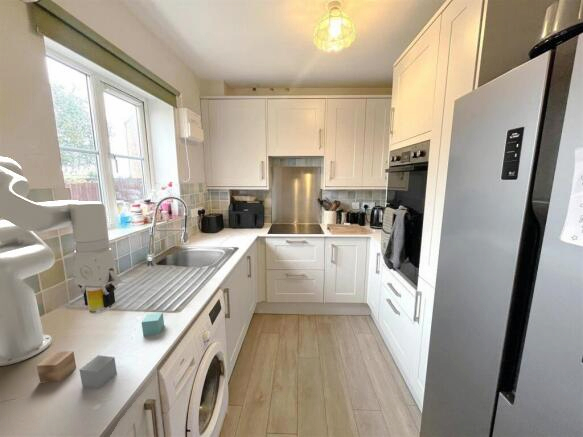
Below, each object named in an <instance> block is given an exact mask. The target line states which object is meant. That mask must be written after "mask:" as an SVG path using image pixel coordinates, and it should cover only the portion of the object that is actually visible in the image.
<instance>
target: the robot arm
mask: <svg viewBox="0 0 583 437" xmlns="http://www.w3.org/2000/svg"><path fill="white" fill-rule="evenodd" d="M23 175H24V172H23V168H22V166H20V164H18V162H16V161H15V160H13V159H11V158H9V157H6V156H5V157H4V156H1V155H0V217H1V218H2V219H0V367H3V366H9V365H13V364H16V363H20V362H22V361H25V360H27V359H29V358H33V357H34V356H36V355H38V354H40V353H42V352H43V351H45V350H46V349H47V348H48V347H49V346H50V345H51V343H52V341H53V340H52V336H51V335H49V334H44V331H43V330H44V329H43V326H42V321H41V316H40V312H39V307H38V301H37V297H36V292H35V291H34V289H33V288H32V287H31V286H30V285H29V284H27V283H25V282H24V279H27V278H29V277H32V276H35V275H38V274H40V273H42V272H44V271H48V270H49V269H50V268H52V267H53V266H54V265H55V262H56V256H55V253H54V251H53V250H52V249H51V247H50V246H49V245H48V244H47V243H46V242H45V241H44V240H43V239H41V238H40V237H39V236H38V234H36V233H44V232H45V233H46V232H50V231H54V230H59V229H63V228H64V229H65V228H70V227H71V229H72V236H73V241H74V242H73V243H74V249H75V250H74V251H73V256H72V272H73V279H72V280H73V281H74V284H76V285H77V286H78V287H79V288H80V292H81V293H82V294H83V299H84V306H87V307H88V302H87V295H86V286H95V287H101V288H102V290H103V292H104V295H103V296H102V297H103V304H104V307H105V308H107V307H109V306H110V305H112V306H113V305H114V304H115V303H116V295H115V291H116V290H117V289H118V287H119V286H120V285H121V284H122V283H123V281H122V279H121V278H120V277H119V276H118V275H117V273H118V272H117V266H116V262H115V257H114V254H113V250H112V248H110V247H111V245H110V237H109V231H108V229H109V228H108V223H107V222H108V221H107V220H108V219H107V212H106V207H105V204H104V203H103V202H100V201H79V200H74V199H67V200H66V199H65V200H54V201H53V200H52V201H41V202H34V201H32V200H29V199H27V198H26V197H27V196H28V195H29V193H30V191H31V190H30V189H31V185H30V182H29V181H28V180H27V178H25V177H24V176H23ZM108 284H109V288H107V286H106V285H108Z"/></svg>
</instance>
